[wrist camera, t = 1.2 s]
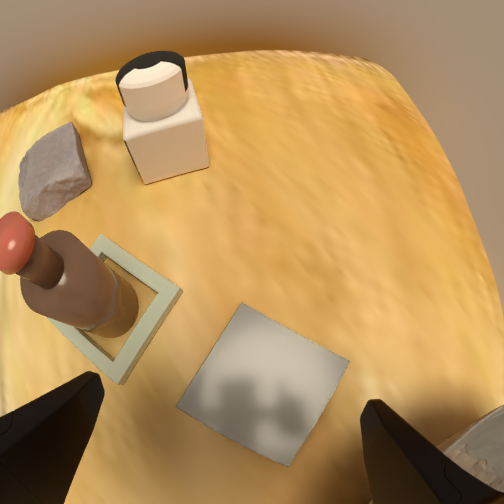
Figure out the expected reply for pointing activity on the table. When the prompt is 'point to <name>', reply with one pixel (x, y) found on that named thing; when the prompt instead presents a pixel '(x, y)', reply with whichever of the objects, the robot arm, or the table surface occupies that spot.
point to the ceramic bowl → (480, 449)
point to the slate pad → (263, 385)
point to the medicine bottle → (161, 117)
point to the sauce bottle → (66, 279)
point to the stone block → (53, 173)
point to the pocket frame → (144, 329)
